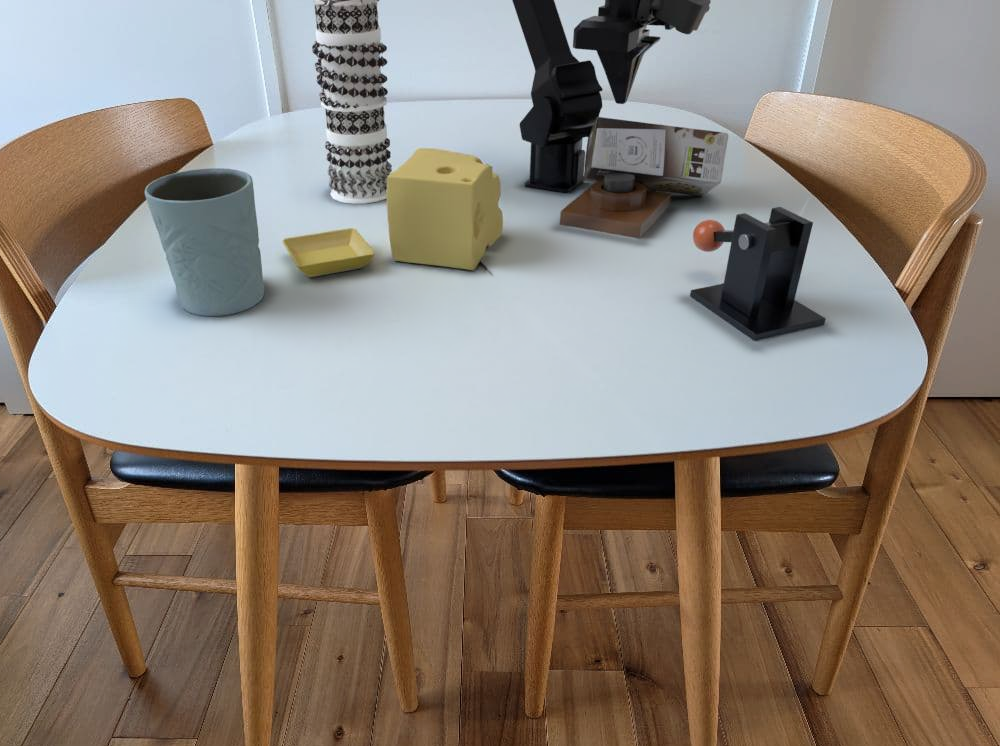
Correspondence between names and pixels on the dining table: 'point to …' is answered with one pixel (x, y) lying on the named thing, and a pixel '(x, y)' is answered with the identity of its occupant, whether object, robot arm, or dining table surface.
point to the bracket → (762, 279)
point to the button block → (616, 210)
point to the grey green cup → (209, 238)
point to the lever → (714, 235)
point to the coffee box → (656, 155)
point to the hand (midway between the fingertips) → (621, 103)
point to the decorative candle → (353, 98)
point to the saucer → (329, 252)
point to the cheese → (443, 209)
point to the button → (618, 182)
